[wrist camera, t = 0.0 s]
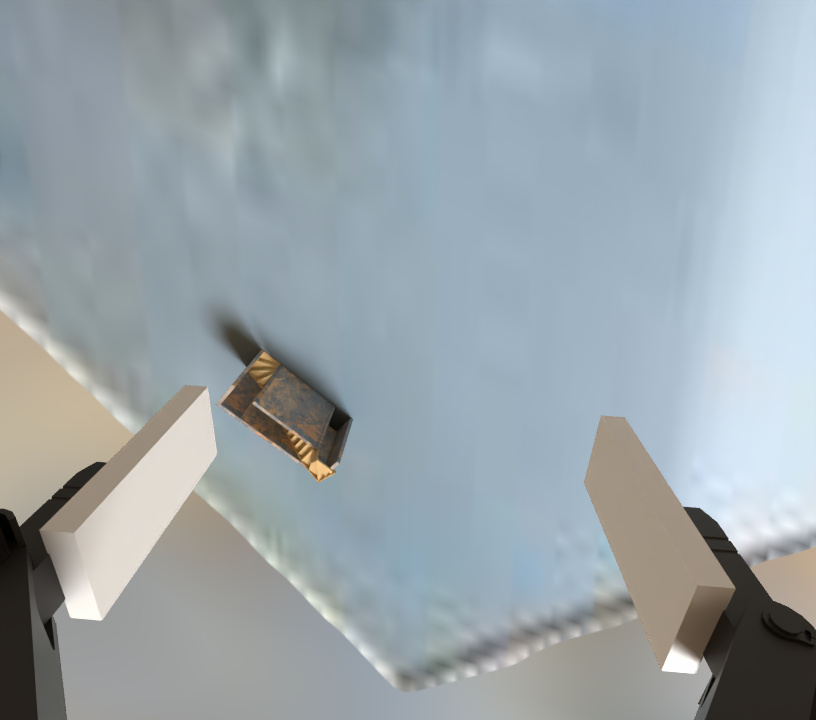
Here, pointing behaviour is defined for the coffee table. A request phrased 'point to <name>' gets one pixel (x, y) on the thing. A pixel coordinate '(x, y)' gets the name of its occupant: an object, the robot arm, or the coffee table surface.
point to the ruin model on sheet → (287, 415)
